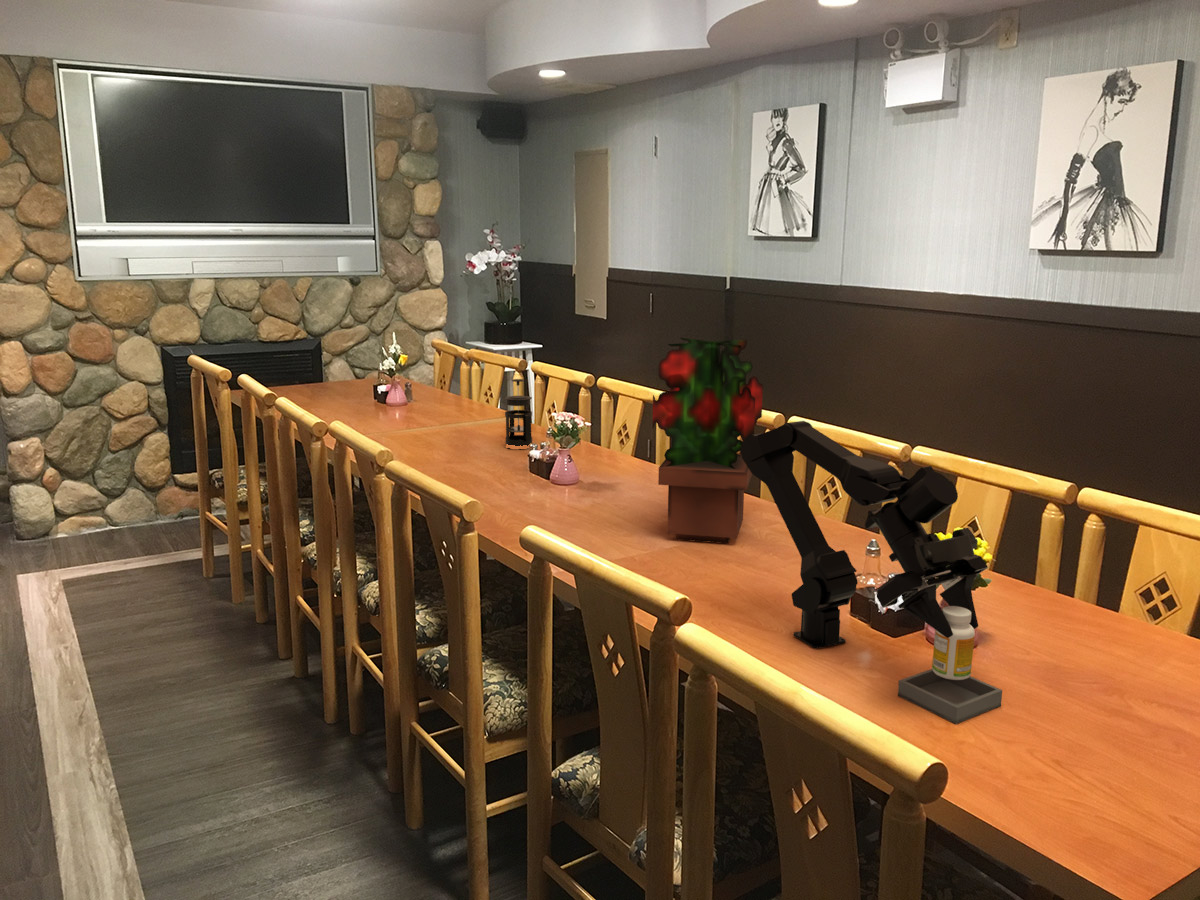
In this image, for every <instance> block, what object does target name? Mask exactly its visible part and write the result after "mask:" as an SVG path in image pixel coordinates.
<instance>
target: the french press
mask: <svg viewBox="0 0 1200 900" xmlns="http://www.w3.org/2000/svg"><path fill="white" fill-rule="evenodd" d="M511 381H512V382H515V383H516V386H517V395H511V396H510V395H509V396H506V397H504V400H505V405H506V406H510V407H512V406H513V407H517V409H511V410H506V411H505V412H504V417H505V433H506V434H505V445H506V444H508V445H515V446H520V445H521V446H523V445H527V446H528V445H529V444H530V443H532V444H533V436H532V417H533V412H532V410H526V409H520V407H523V406H525V407H526V406H530V405H531V400H532V398H533V397H532V396H528V395H520V393H519V391H520V390H519V386H520V383H521V382H525V380H524V379H520V378H517V379H516V378H514V379H512V380H511ZM515 419H517V426H515ZM520 419H522V421H523V422H522V425H521V424H520ZM515 433H522V434H515Z"/></svg>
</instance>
